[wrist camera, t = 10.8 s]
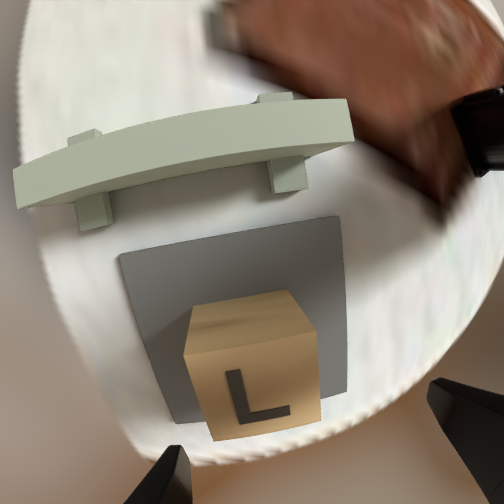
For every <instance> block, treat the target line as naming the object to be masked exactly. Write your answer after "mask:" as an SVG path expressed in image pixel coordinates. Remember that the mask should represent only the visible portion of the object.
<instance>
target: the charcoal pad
mask: <svg viewBox="0 0 504 504" xmlns="http://www.w3.org/2000/svg"><path fill="white" fill-rule="evenodd" d="M119 260H120V264H121V268H122V272H123V276H124V280H125V283H126V287H127V291H128V294H129V298H130V301H131V305H132V308H133V312H134V315H135V318H136V321H137V325H138V328H139V331H140V334H141V337H142V340H143V343H144V346H145V349H146V351H147V354H148V357H149V360H150V363H151V365H152V368H153V371H154V373H155V376H156V379H157V381H158V384H159V386H160V389H161V391H162V394H163V396H164V398H165V401H166V403H167V405H168V408H169V410H170V412H171V415H172V417H173V419H174V421H175V424H184V423H195V422H204V421H206V420H205V417H204V415H203V412H202V409H201V407H200V404H199V401H198V398H197V395H196V392H195V390H194V387H193V384H192V381H191V378H190V375H189V372H188V368H187V365H186V362H185V359H184V356H183V355H184V349H185V344H186V339H187V334H188V329H189V324H190V319H191V314H192V310H193V306H196V305H202V304H208V303H214V302H220V301H225V300H231V299H237V298H242V297H248V296H253V295H258V294H263V293H269V292H274V291H279V290H284V289H287V290H288V291H289V292H290V294H291V295H292V297H293V298H294V300H295V301H296V302H297V304H298V305H299V307H300V308H301V310H302V311H303V312H304V314H305V315H306V317H307V318H308V320H309V321H310V322H311V324H312V325H313V327H314V328H315V330H316V334H317V348H318V364H319V382H320V399H323V398H327V397H330V396H334V395H337V394H340V393H344V392H347V315H346V293H345V276H344V262H343V250H342V239H341V229H340V220H339V216H332V217H325V218H319V219H313V220H307V221H300V222H294V223H288V224H282V225H276V226H270V227H264V228H258V229H252V230H247V231H241V232H235V233H229V234H224V235H218V236H212V237H207V238H201V239H196V240H190V241H185V242H180V243H174V244H169V245H164V246H158V247H153V248H148V249H143V250H138V251H132V252H127V253H122V254H120V255H119Z"/></svg>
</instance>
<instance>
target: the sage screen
mask: <svg viewBox="0 0 504 504" xmlns="http://www.w3.org/2000/svg"><path fill="white" fill-rule="evenodd" d="M256 102H257V103H256V104H247V105H239V106H232V107H225V108H218V109H212V110H205V111H200V112H194V113H189V114H184V115H179V116H174V117H169V118H165V119H160V120H156V121H152V122H147V123H143V124H139V125H136V126H132V127H128V128H125V129H121V130H117V131H114V132H111V133H107V134H104V135H102V133H101V132H100V131H98V130H96V129H92V130H89V131H86V132H83V133H80V134H78V135H75V136H72V137H69V138H67V140H68V147H66V148H63V149H60V150H58V151H55V152H53V153H50V154H47V155H45V156H43V157H40V158H38V159H35V160H33V161H31V162H28V163H26V164H24V165H22V166H19V167H17V168H15V169H13V177H14V188H15V196H16V204H17V209H23V208H30V207H38V206H46V205H55V204H64V203H71V202H75V206H76V212H77V218H78V223H79V228H80V232H81V231H85V230H90V229H94V228H98V227H102V226H106V225H110V224H113V223H114V218H113V213H112V208H111V202H110V196H109V192H111V191H115V190H119V189H123V188H127V187H131V186H135V185H139V184H144V183H148V182H152V181H157V180H162V179H166V178H171V177H176V176H181V175H186V174H191V173H196V172H202V171H207V170H213V169H219V168H225V167H231V166H237V165H244V164H251V163H258V162H265V161H267V167H268V173H269V180H270V186H271V193H281V192H288V191H295V190H303V189H309V188H308V182H307V175H306V169H305V162H304V157H307V156H314V155H317V154H320V153H322V152H325V151H328V150H331V149H334V148H336V147H339V146H342V145H345V144H348V143H351V142H354V135H353V130H352V125H351V120H350V115H349V110H348V105H347V100H346V99H313V100H293V96H292V92H283V93H270V94H259V95H258V97H257V100H256Z"/></svg>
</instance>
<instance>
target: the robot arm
mask: <svg viewBox="0 0 504 504" xmlns="http://www.w3.org/2000/svg"><path fill="white" fill-rule="evenodd" d="M463 100H464V102H462V103H460V104H458V105H455V106H453V107H452V108H451V112H452V115H453V117H454V119H455V122H456V124H457V127H458V129H459V132H460V134H461V137H462V139H463V142H464V145H465V147H466V150H467V153H468V156H469V159H470V162H471V165H472V168H473V171H474V174H475V176H476V177H478V178H481V177H483V176H484V175H485V174H486V173H488V172H489V171H504V83H503V84H502V85H498V86H494V87H490V88H486V89H483V90H479V91H476V92H473V93H471V94H468V95H466V96H464V98H463ZM456 111H457V112H456ZM427 402H428V404H429V406H430V408H431V409H432V411H433V413H434V415H435V417H436V419H437V421H438V423H439V425H440V426H441V428H442V430H443V432H444V433H445V435H446V436H447V438H448V439H449V441H450V442H451V443H452V445H453V446H454V448H455V449H456V451H457V452H458V454H459V455H460V457H461V459H462V460H463V462H464V463H465V465H466V466H467V468H468V469H469V471H470V472H471V474H472V475H473V477H474V479H475V480H476V482H477V483H478V485H479V487H480V488H481V490H482V492H483V493H484V495H485V496H486V498H487V500H488V502H489V503H490V504H504V395H500V394H497V393H494V392H490V391H486V390H483V389H479V388H475V387H472V386H469V385H465V384H462V383H459V382H455V381H452V380H449V379H446V378H442V377H438V378H435V379H433V380H431V382H430V383H429V388H428V392H427ZM192 500H193V497H192V485H191V471H190V461H189V458H188V456H187V454H186V452H185V450H184V449H183V447H182V446H181V445H170V446H168V448H167V449H166V450H165V452H164V453H163V454H162V455H161V457H160V458H159V459H158V461H157V462H156V463H155V465H154V466H153V467H152V469H151V470H150V471H149V472H148V474H147V475H146V476H145V477H144V479H143V480H142V481H141V483H140V484H139V485H138V486H137V487H136V489H135V490H134V491H133V492H132V494H131V495H130V496H129V497H128V499H127V500H126V501H125V502H124V503H123V504H193V503H192V502H193V501H192Z"/></svg>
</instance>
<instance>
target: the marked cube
mask: <svg viewBox="0 0 504 504" xmlns="http://www.w3.org/2000/svg"><path fill="white" fill-rule="evenodd" d="M183 356H184V359H185V362H186V365H187V368H188V372H189V375H190V378H191V381H192V384H193V387H194V390H195V392H196V395H197V398H198V401H199V404H200V407H201V409H202V412H203V415H204V417H205V420H206V423H207V425H208V428H209V431H210V433H211V436H212V438H213V441H222V440H230V439H237V438H243V437H250V436H255V435H261V434H266V433H271V432H276V431H281V430H286V429H290V428H294V427H298V426H302V425H306V424H310V423H314V422H318V421H321V405H320V382H319V364H318V348H317V334H316V330H315V328H314V327H313V325H312V324H311V322H310V321H309V320H308V318H307V317H306V315H305V314H304V312H303V311H302V310H301V308H300V307H299V305H298V304H297V302H296V301H295V300H294V298H293V297H292V295H291V294H290V292H289V291H288V290H287V289H284V290H279V291H274V292H269V293H263V294H258V295H253V296H248V297H242V298H237V299H231V300H225V301H220V302H214V303H208V304H202V305H196V306H193V310H192V314H191V319H190V324H189V329H188V334H187V339H186V344H185V349H184V355H183Z"/></svg>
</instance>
